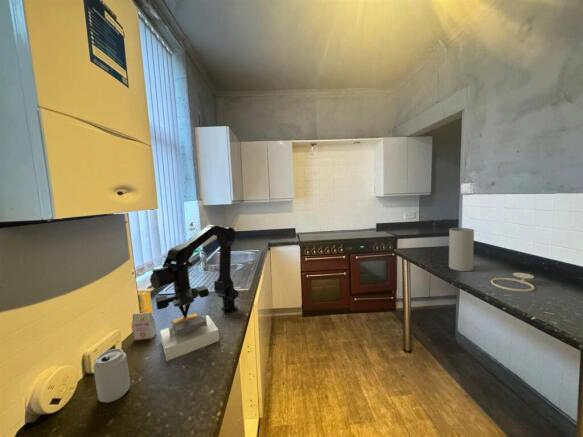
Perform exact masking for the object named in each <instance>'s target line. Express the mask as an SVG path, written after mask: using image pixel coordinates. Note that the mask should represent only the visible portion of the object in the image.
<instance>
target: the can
mask: <svg viewBox="0 0 583 437" xmlns="http://www.w3.org/2000/svg"><path fill="white" fill-rule="evenodd" d="M92 368H93V374H94V375H93V376H94V380H95V386H96V394H97V399H98V401H99V402H101V403H112V402H115V401H117V400H119V399H121V398H122V397H123V396H125V394H126V393H127V392H128V390H130V387H131V379H130V374H129V373H130V372H129V365H128V358H127V353H126V352H124V350H123V349H122V348H113V349H109V350H106V351H105V352H103V353H101V354H100V355H98V356H97V357H96V358H95V363H94V364H93V367H92Z"/></svg>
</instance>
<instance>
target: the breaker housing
mask: <svg viewBox="0 0 583 437" xmlns="http://www.w3.org/2000/svg"><path fill="white" fill-rule="evenodd" d="M201 317H202V318H203V319H205V320H206V326H203V327H200V328H197V329H194V330H191V331H188V332H185V333H182V334H179V335H176V333H175V331H174V330H173V327H172V325H171V326H168V327H166V328H163V329H161V330H159V331H160V340H161V343H162V344H161V345H162V348H163V352H164V356H165V360H166V362H168V361H170V360H174V359H176V358H178V357H182V356H183V355H186V354H189V353H190V352H194V351H196V350H199V349H202V348H204V347H206V346H209V345H212V344H214V343H217V342H219V341H220V334H219V329H218V327H217V326H216V324H215V323H214V322H213V320H212V319H211V317H210V316H209V315H208V314H207V315H202V316H201Z"/></svg>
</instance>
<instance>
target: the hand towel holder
mask: <svg viewBox="0 0 583 437" xmlns="http://www.w3.org/2000/svg"><path fill="white" fill-rule="evenodd" d="M512 275H513V276H514V277H515V278H509V277H496V278H493V279H491V280H490V283H491V285H493V286H495V287H497V288H499V289H503V290H506V291H507V290H508V291H513V292H518V293H519V292H520V293H521V292H522V293H524V292H525V293H526V292H527V293H528V292H532V291H534V290H535V289H536V288H535V286H534V285H533V284H532V283H530V282H527V281H526V280H530V279H534V278H535V277H534V275H533V274H529V273H525V272H514V273H512ZM516 278H517V279H516ZM518 278H519V279H518ZM494 281H511V282H518V283H521V284H524V285H527V286H528V287H531V288H527V289H520V288H519V289H518V288H511V287H506V286H502V285H499V284H497V283H496V282H494Z"/></svg>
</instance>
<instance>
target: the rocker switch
mask: <svg viewBox="0 0 583 437" xmlns="http://www.w3.org/2000/svg"><path fill="white" fill-rule="evenodd" d="M170 325H171V326H172V327H173V330H174V331H175V333H176V335H179V334H182V333H185V332H188V331H191V330H194V329H197V328H200V327H203V326H206V320H205V319H203V318H202V316H201V315H200V313H198V312H196V313H192V314H187V317H185V318H184V316H182V317H179V318H176V319H173V320H172V321H170Z"/></svg>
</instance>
